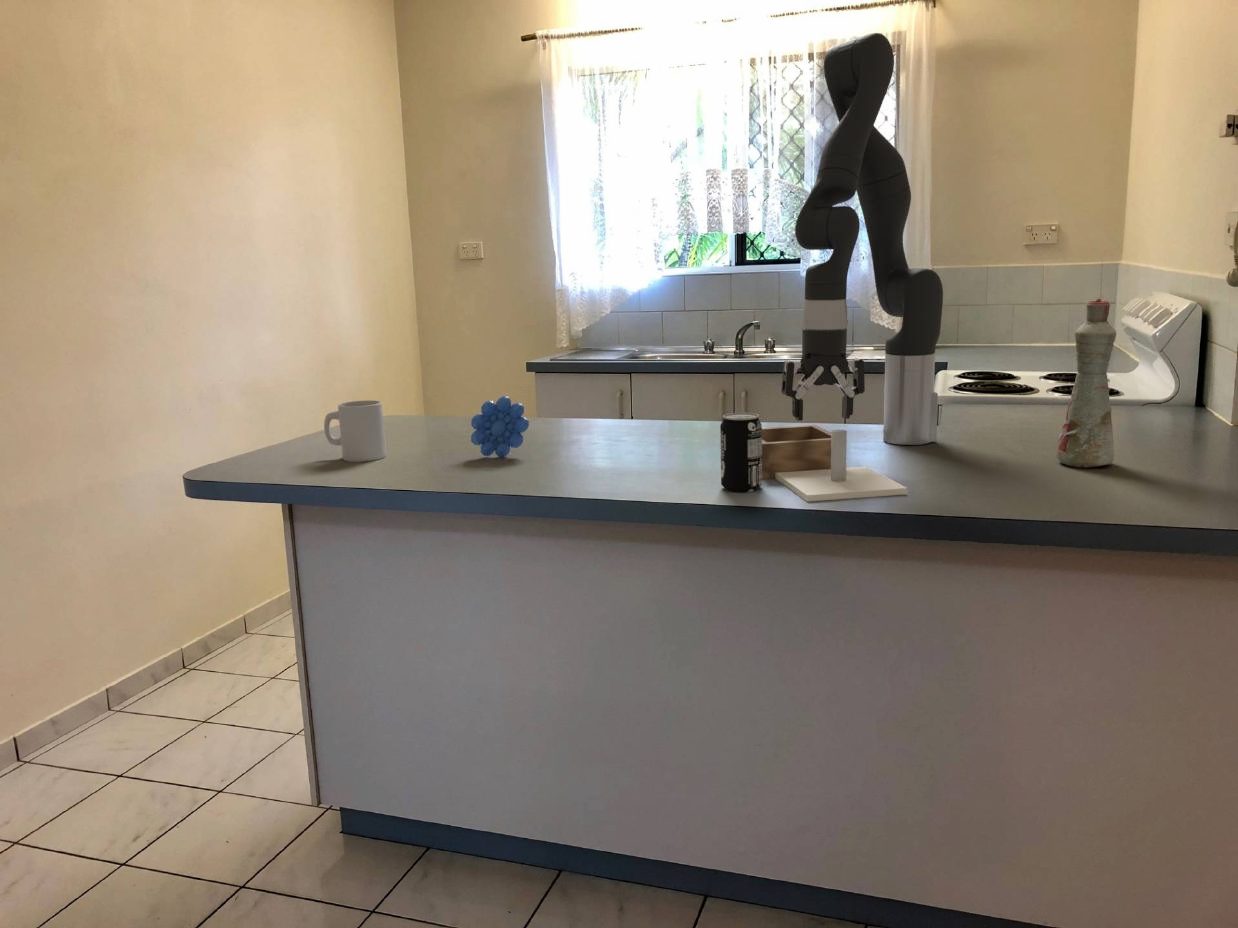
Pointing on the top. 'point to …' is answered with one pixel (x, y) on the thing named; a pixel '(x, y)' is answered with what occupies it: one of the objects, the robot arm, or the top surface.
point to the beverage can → (741, 452)
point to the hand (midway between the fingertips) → (822, 419)
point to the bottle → (1090, 394)
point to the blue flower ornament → (499, 427)
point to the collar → (795, 449)
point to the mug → (359, 430)
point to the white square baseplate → (839, 478)
